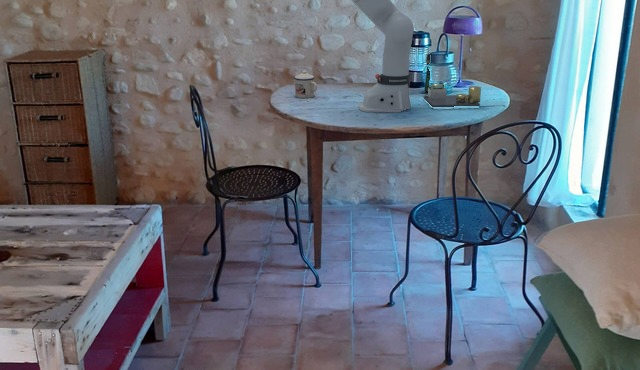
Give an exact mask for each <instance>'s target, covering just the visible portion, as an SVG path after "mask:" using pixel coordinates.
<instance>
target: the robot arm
mask: <svg viewBox="0 0 640 370" xmlns="http://www.w3.org/2000/svg"><path fill="white" fill-rule="evenodd" d="M351 2H353V4H354V5H355V6H357V7H358V9H359V10H360V11H361V12H362V13H363V14H364V15H365V16H366V17H367V18H368V19H369V20H370V21H371V23H373V24H374V25H375V27H376V28H378V29H377V30H379V31H380V32H381V33H382V34H383V35H384V36H385V37H384V47H383V51H382V52H383V53H382V63H381V64H382V66H381V67H382V71H381V73H380V74H379V73H375V74H374V78H375V79H376V80H377V82H376V84H373V86H371V87H370V88H369V89H367V90H366V91H365V93H364V95H363V100H362V102H359V103H358V105H357V108H358V109H359V110H360V111H362V112H367V113H401V111H402V112H403V110H404V111H407V110H406V109H408V110H410V109H412V105H411V104H412V103H411V99H410V86H411V84H410V83H411V81H410V80H411V77H410V72H409V71H410V57H411V47H412V42H413V35H414V33H415V32H414V31H415V30H414V28H415V27H414V23H413V21H412V19H411V18H410V17H408V16H407V15H405V14H404V13H402V12H401V11H400V10H399V9H398V8H397V6H396V5H395V4H394V3H393V2H392V1H391V0H351ZM409 108H410V109H409Z"/></svg>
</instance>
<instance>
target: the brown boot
mask: <svg viewBox="0 0 640 370" xmlns="http://www.w3.org/2000/svg"><path fill="white" fill-rule="evenodd" d="M481 94H482V87H481V86H476V85H472V86H471V85H470V86H469V87H468V94H466V93H457V94H455V95H456V100H460V101H464V100H465V101H468V102H471V103H479V104H480V103H481V97H482V96H481ZM467 95H468V97H467Z"/></svg>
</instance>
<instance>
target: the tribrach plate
mask: <svg viewBox="0 0 640 370" xmlns="http://www.w3.org/2000/svg"><path fill="white" fill-rule="evenodd" d="M447 90H448V89H447V88H446V87H445V88H444V85H443V84H431V87H428V93H427V95H423V98H424V99H425V100H426V101H427V102H428V103H429V104H430V105H431V106H432V107H454V106H480V107H481V104H480V102H479V103H471V102H468V101H465V100H464V101H460V100H456V95H457V94H450V95H449V94H447ZM466 95H467V97H468V94H466Z"/></svg>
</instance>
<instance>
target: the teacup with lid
mask: <svg viewBox="0 0 640 370" xmlns="http://www.w3.org/2000/svg"><path fill="white" fill-rule="evenodd" d="M301 71H302V72H300V73H299V74H297V75H295V76H294V89H295V90H294V93H295V97H296V98H298V99H311V98H313V97H315V93H316V92H317V90H318V85H317V83H316V82H315V76H314V75H312V74H310V73H308V71H307V70H301Z"/></svg>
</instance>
